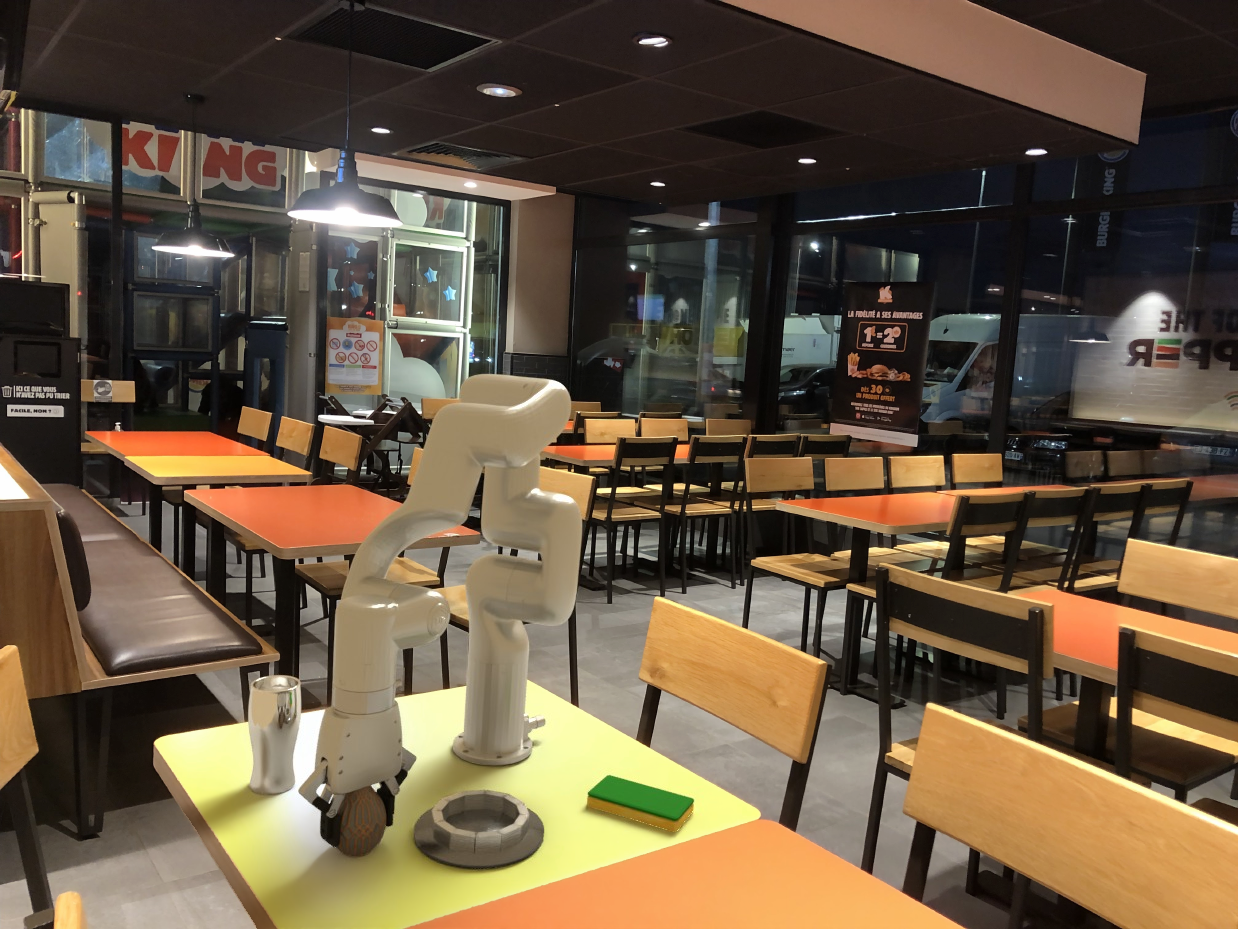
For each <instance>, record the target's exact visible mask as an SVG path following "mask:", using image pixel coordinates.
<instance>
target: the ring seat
mask: <svg viewBox="0 0 1238 929" xmlns="http://www.w3.org/2000/svg"><path fill="white" fill-rule="evenodd" d="M544 838H545V826H544V823H543V821H542V819H541V817H539V815H538V814H537V813H536V812H534V811H533V810H531V809H530V808H529V807H527V805H526V803H525V802H524V801H522V800H521V799H519V798H517V797H515V796H513V795H511V794H510V793H508V792H506V793H505V792H501V791H496V790H490V789H476V790H475V789H474V790H462V791H459V792H456V793H454V794H451V795H447V796H445V797H442V798H441V799H440V800H439V801H438V802H437V803H436V804H435V805H434V806H433V807H431V808H429V809H427V810H426V811H425V812H423V814H421V815H420V817H418V819H417V820H416V822H415V825H414V828H413V841H414V845H415V846H416V847H417V849H418V850H419V852H421V854H423V855H424V856H425V857H427V858H428V859H430V860H432V861H434V862H437V863H439V864H442V865H445V866H448V867H452V868H458V869H465V870H489V869H490V870H492V869H498V868H504V867H509V866H511V865H515V864H518V863H520V862H522V861H524V860H526V859H528V858H530V857H531V856H533V855H534V854H535V853H536V852H537V851H538V850H539V849H540V847H541V846H542V844H543V842H544Z"/></svg>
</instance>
